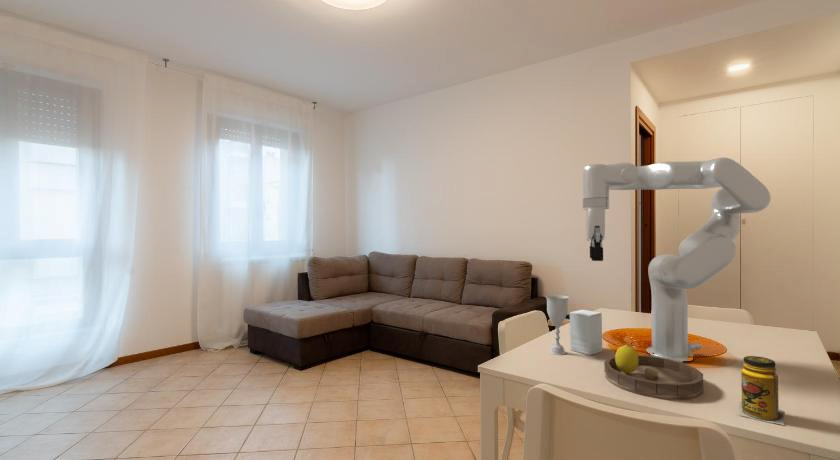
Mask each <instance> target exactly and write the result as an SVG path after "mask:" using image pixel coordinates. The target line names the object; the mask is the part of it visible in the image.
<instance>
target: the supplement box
mask: <svg viewBox="0 0 840 460" xmlns="http://www.w3.org/2000/svg"><path fill="white" fill-rule="evenodd" d="M602 318H603V317H602V312H600V311H598V312H597V311H592V310H586V309H579V310H574V311H570V312H569V341H570V342H569V346H570V348H569V349H570V351H573V352H578V353H581V354H584V355H589V356H591V355H595V354H598V353H601V352H603V327H602V326H603V324H602V323H603V321H602Z"/></svg>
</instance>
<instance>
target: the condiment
mask: <svg viewBox="0 0 840 460" xmlns="http://www.w3.org/2000/svg"><path fill="white" fill-rule="evenodd" d="M742 365H743V368H742V369H741V373H740V374H741V385H740V386H741V389H740V390H741V401H739V406H738V416H742V417H746V418H749V419H753V420H757V421H762V422H766V423H772V424H776V425H777V424H778V425H782V426H785V419H784V413H783V409H779V407H780V406H779V375H778V374H777V369H776V361H774V360H773V359H771V358H768V357H764V356H756V355H746V356H744V358H743V364H742Z"/></svg>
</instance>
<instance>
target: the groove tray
mask: <svg viewBox="0 0 840 460" xmlns="http://www.w3.org/2000/svg"><path fill="white" fill-rule="evenodd" d="M637 355H638V367H637V369H636V370H635V371H634V372H631V373H629V374H625V373H624V372H623V371H621V370H620V369H619V368H618V367H617V365H616V361H615V355H613V356H610V357H608V358H606V359H605V361H604V362H603V364H604V365H603V366H604V368H603V370H604V373H605V374H604V375H605V379H606V380H607V381H608V382H609V383H610V384H612V385H613V386H615V387H618V388H620V389H622V390H623V391H624V390H625V391H627V392H630V393H633V394H635V395H641V396H645V397H648V398H654V399H655V398H656V399H664V400H675V401H676V400H679V401H680V400H691V399H694V398H695V399H696V398H699V397H700V396H701V395H703V393H704V374H703V373H702V372H701V371H700V370H699V369H697V368H696V367H693V366H691V365H689V364H687V363H685V362H678V361H674V360H670V359H666V358H661V357H654V356H649V355H648V354H637Z"/></svg>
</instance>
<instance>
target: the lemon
mask: <svg viewBox="0 0 840 460" xmlns="http://www.w3.org/2000/svg"><path fill="white" fill-rule="evenodd" d="M638 355H639V354H638V353H637V351H636V350H635V349H634V348H633V347H632V346H629V344H625V345H622V346H620V347H619V346H618V348H617V350H616V352H615V355H614V356H615V361H616V365H617V367H618V368H619V369H620V370H621V371H623V372H624V373H625V374H629V373H631V372H634V371H635V370H636V369H637V367H638Z"/></svg>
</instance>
